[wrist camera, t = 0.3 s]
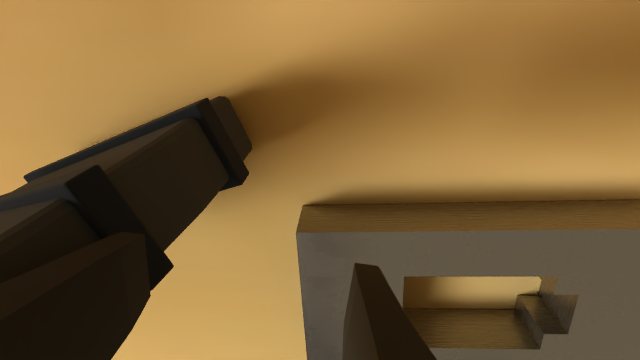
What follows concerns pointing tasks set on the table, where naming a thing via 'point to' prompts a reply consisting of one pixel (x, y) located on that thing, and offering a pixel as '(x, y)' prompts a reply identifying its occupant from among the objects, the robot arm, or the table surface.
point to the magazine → (126, 189)
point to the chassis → (484, 274)
